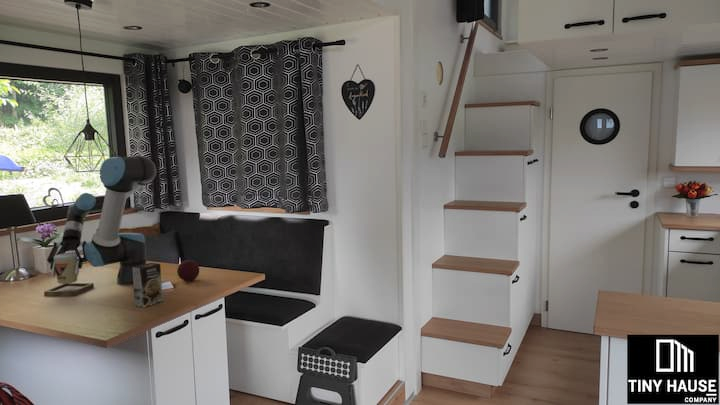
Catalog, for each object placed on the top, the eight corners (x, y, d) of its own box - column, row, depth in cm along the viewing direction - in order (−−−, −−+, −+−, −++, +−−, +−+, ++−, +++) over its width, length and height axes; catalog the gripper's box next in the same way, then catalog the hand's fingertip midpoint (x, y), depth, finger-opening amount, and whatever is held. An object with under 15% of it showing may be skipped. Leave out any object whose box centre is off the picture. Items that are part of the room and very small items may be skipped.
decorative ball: (198, 282, 249) (197, 262, 248) (176, 284, 248) (174, 263, 247) (201, 277, 259) (200, 257, 258) (179, 278, 258) (178, 258, 257)
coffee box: (144, 308, 214) (141, 268, 212) (134, 305, 217) (131, 266, 215) (163, 301, 221) (160, 263, 219) (153, 299, 225) (150, 262, 223)
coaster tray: (93, 287, 246) (93, 283, 246) (73, 296, 232) (73, 291, 232) (65, 287, 248) (65, 282, 248) (44, 295, 234) (44, 291, 234)
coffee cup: (50, 283, 237) (48, 256, 236) (69, 277, 246) (67, 252, 244) (65, 285, 234) (63, 258, 232) (84, 279, 242) (82, 253, 241)
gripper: (99, 236, 255) (93, 277, 241) (49, 238, 250) (40, 281, 237) (95, 227, 249) (89, 269, 236) (44, 229, 244) (34, 272, 231)
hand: (64, 275), depth 236 cm, fingers closed on coffee cup, 9 cm apart
